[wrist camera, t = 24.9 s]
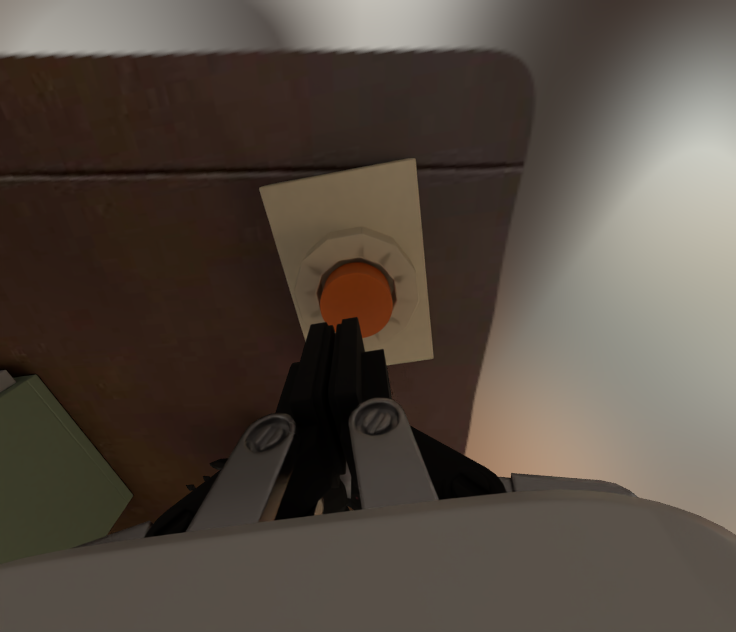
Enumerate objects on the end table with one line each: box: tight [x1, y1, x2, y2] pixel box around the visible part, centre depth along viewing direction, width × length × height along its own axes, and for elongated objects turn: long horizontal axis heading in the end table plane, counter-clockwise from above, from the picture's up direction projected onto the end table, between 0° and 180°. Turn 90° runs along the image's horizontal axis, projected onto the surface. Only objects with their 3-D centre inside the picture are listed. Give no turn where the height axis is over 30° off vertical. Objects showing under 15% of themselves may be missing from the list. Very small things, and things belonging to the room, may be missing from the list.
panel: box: [259, 158, 433, 365], centre depth 18 cm, size 12×8×4 cm, turn 10°
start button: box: [320, 262, 393, 338], centre depth 16 cm, size 4×4×2 cm
